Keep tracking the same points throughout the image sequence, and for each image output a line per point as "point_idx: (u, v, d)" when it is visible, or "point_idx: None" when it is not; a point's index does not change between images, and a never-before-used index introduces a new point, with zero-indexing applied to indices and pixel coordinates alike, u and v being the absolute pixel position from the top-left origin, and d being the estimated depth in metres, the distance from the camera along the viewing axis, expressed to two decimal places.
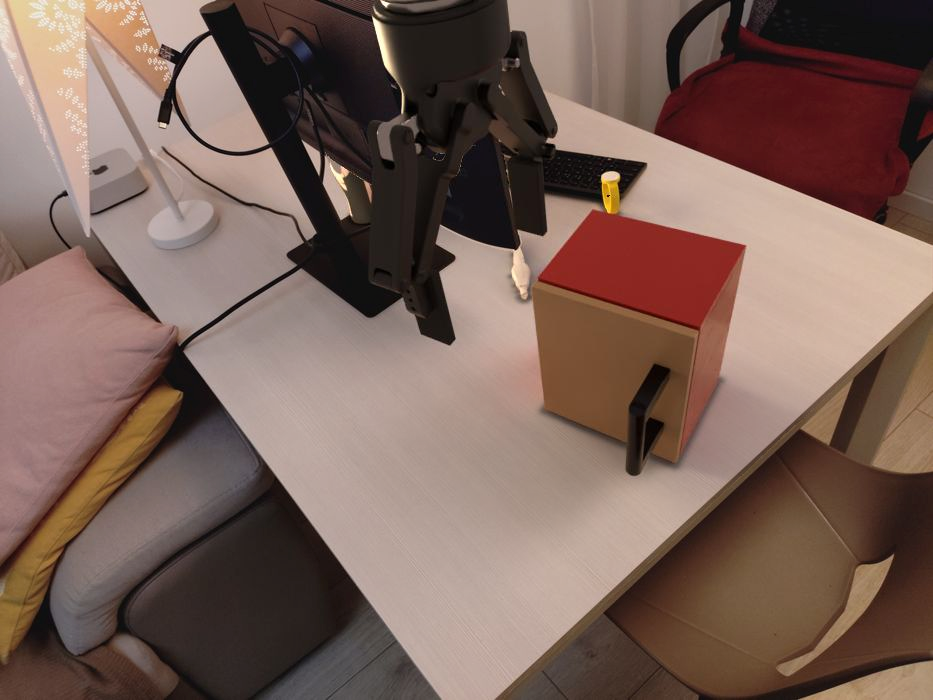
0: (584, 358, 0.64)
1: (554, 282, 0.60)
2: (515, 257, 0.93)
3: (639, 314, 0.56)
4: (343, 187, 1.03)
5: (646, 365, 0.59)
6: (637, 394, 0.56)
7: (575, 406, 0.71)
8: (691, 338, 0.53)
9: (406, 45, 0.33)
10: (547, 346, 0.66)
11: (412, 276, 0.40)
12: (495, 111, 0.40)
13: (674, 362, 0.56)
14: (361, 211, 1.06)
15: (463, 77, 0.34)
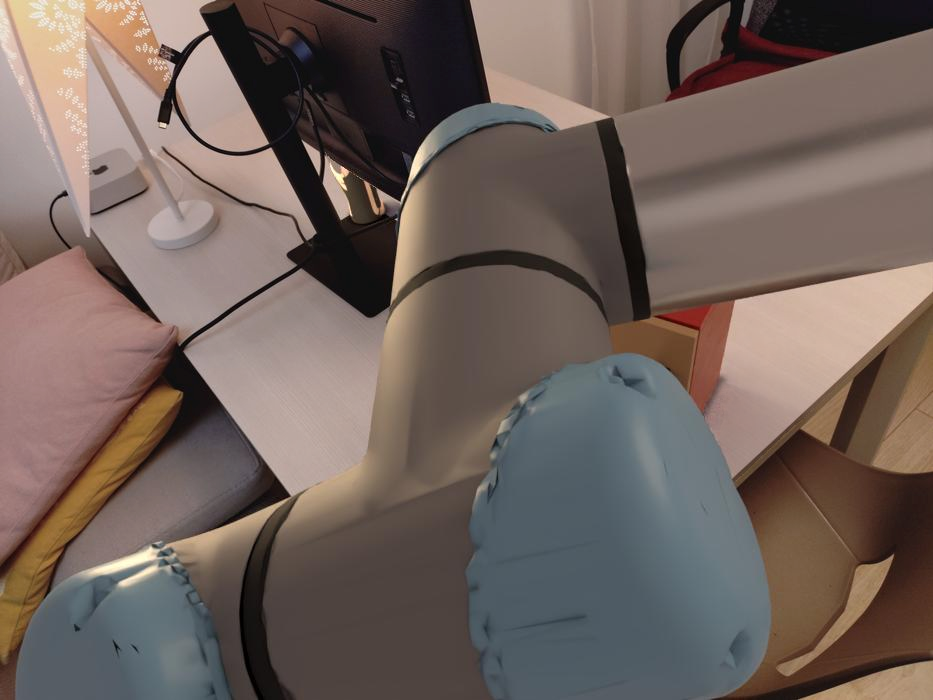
0: None
1: None
2: None
3: None
4: (343, 187, 1.03)
5: None
6: None
7: None
8: (691, 338, 0.53)
9: None
10: None
11: None
12: None
13: (674, 362, 0.56)
14: (361, 211, 1.06)
15: None
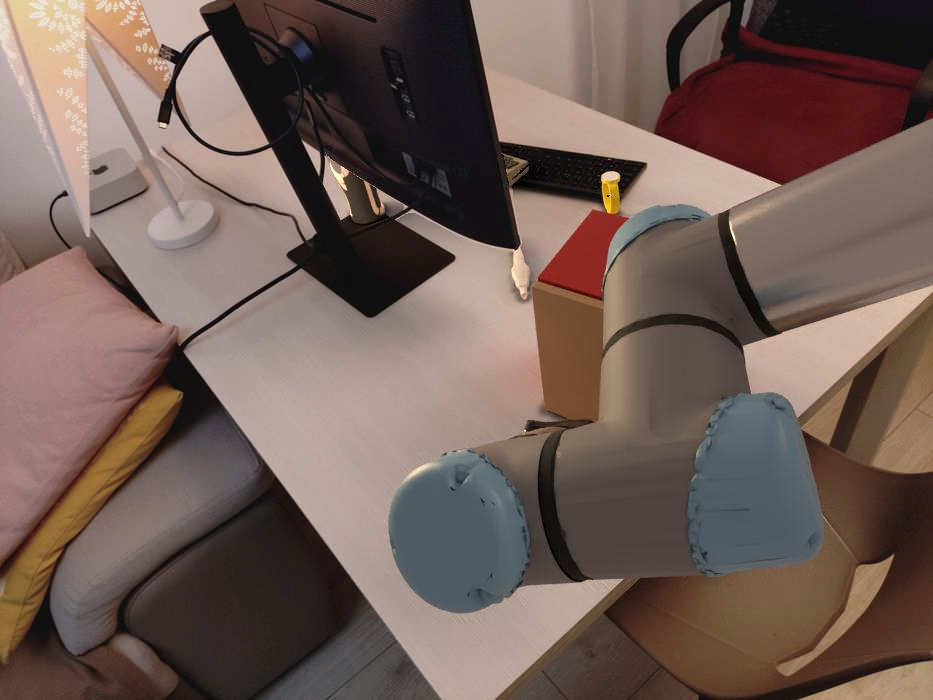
0: (584, 358, 0.64)
1: (554, 282, 0.60)
2: (515, 257, 0.93)
3: None
4: (343, 187, 1.03)
5: None
6: None
7: (575, 406, 0.71)
8: None
9: None
10: (547, 346, 0.66)
11: None
12: None
13: None
14: (361, 211, 1.06)
15: None
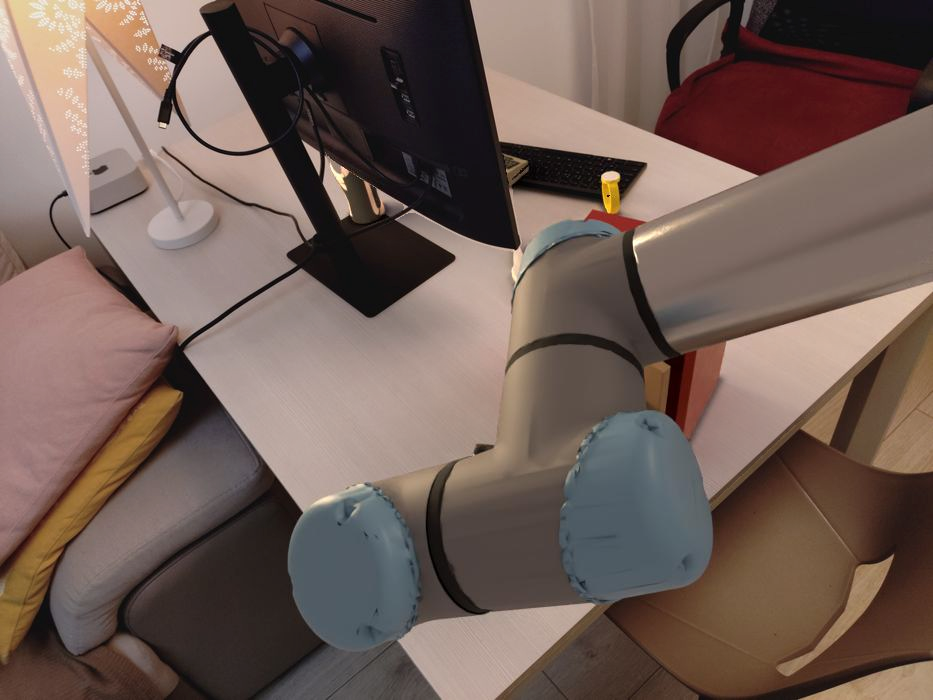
0: None
1: None
2: (515, 257, 0.93)
3: None
4: (343, 187, 1.03)
5: None
6: None
7: None
8: (660, 372, 0.51)
9: None
10: None
11: None
12: None
13: (647, 392, 0.55)
14: (361, 211, 1.06)
15: None
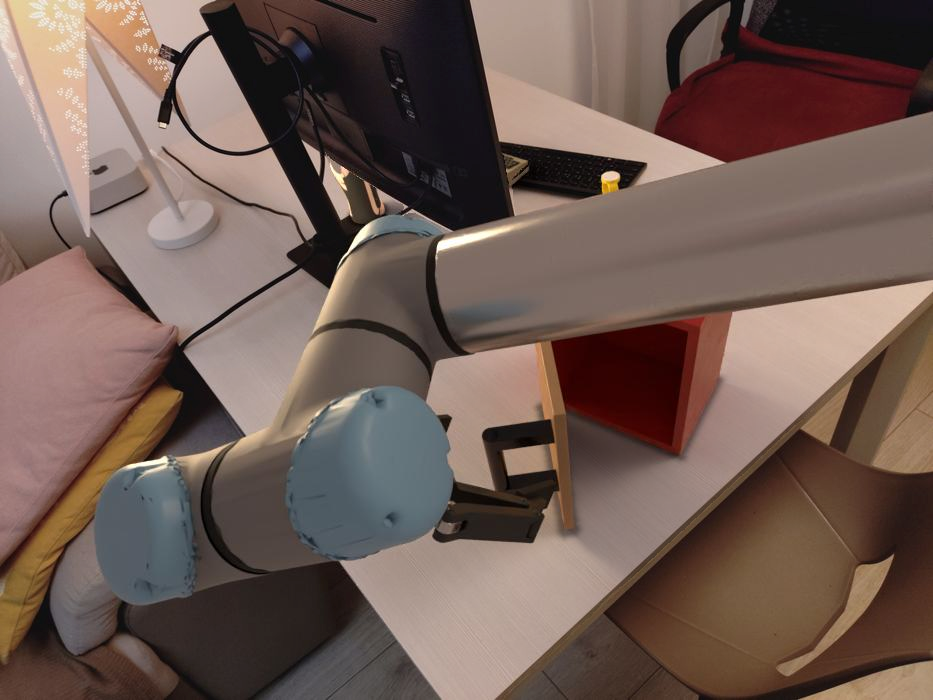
0: None
1: None
2: None
3: (552, 365, 0.54)
4: (343, 187, 1.03)
5: (550, 417, 0.57)
6: (505, 426, 0.56)
7: (545, 419, 0.70)
8: (553, 414, 0.50)
9: None
10: (536, 348, 0.66)
11: (527, 508, 0.52)
12: None
13: (553, 428, 0.54)
14: (361, 211, 1.06)
15: None
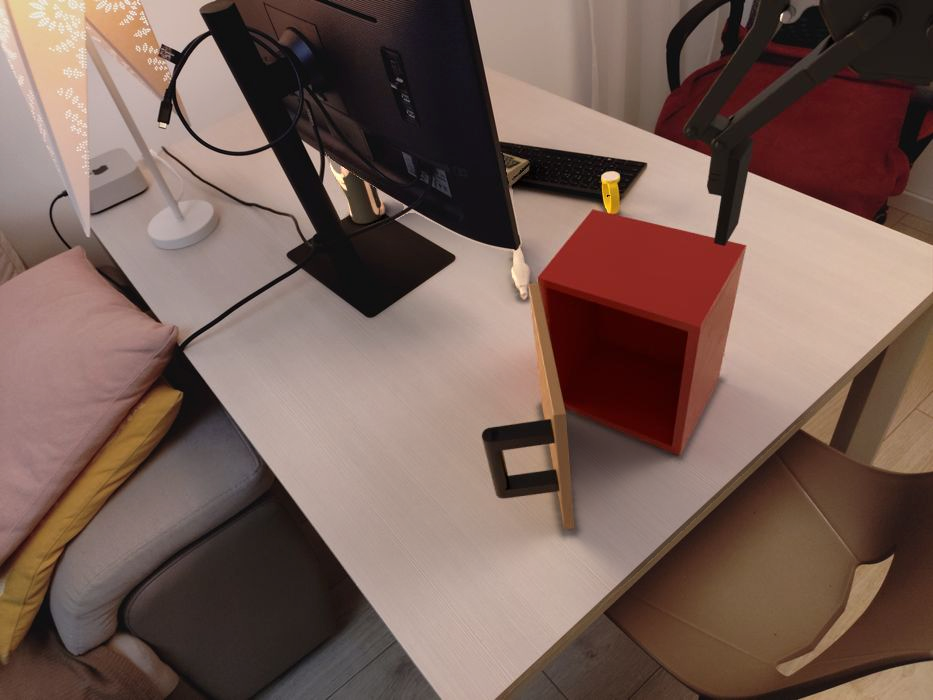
0: None
1: (554, 282, 0.60)
2: (515, 257, 0.93)
3: (552, 365, 0.54)
4: (343, 187, 1.03)
5: (550, 417, 0.57)
6: (505, 426, 0.56)
7: (545, 419, 0.70)
8: (553, 414, 0.50)
9: None
10: (536, 348, 0.66)
11: None
12: None
13: (553, 428, 0.54)
14: (361, 211, 1.06)
15: None
